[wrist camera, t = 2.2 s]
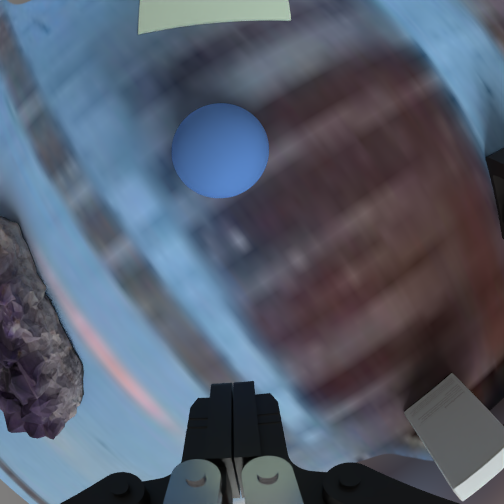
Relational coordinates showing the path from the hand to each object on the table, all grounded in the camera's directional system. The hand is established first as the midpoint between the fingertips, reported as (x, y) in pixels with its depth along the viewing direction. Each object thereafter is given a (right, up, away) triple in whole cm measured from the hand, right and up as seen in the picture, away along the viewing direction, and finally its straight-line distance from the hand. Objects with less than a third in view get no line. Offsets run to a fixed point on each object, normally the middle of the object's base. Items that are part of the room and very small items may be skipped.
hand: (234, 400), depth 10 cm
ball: (-1, +12, +8) cm, 14 cm away
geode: (-21, -1, +14) cm, 25 cm away
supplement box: (+22, -13, +19) cm, 32 cm away
